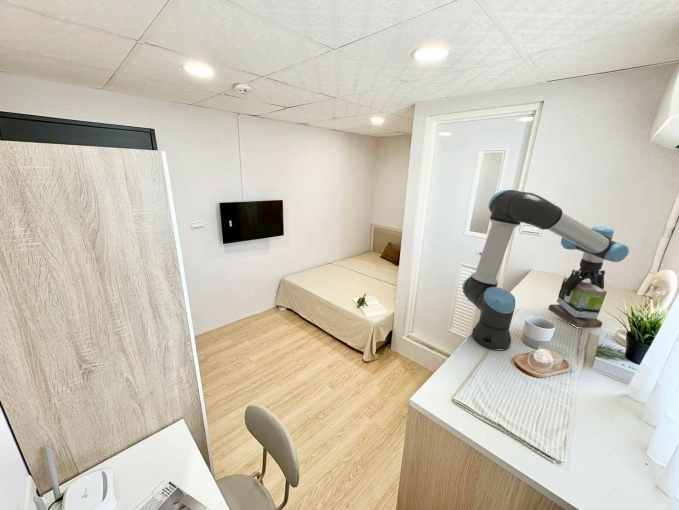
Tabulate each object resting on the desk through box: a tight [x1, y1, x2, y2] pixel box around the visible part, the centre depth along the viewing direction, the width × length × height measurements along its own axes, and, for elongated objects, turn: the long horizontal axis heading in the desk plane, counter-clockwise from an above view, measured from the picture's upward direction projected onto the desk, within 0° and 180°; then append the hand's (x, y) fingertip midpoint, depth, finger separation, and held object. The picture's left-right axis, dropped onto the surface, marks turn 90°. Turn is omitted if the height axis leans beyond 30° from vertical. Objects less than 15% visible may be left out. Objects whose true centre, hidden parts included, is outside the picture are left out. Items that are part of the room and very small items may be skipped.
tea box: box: [556, 276, 607, 319], centre depth 128 cm, size 15×10×15 cm
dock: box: [548, 303, 603, 329], centre depth 131 cm, size 12×17×3 cm
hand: (578, 301), depth 129 cm, fingers closed on tea box, 11 cm apart
